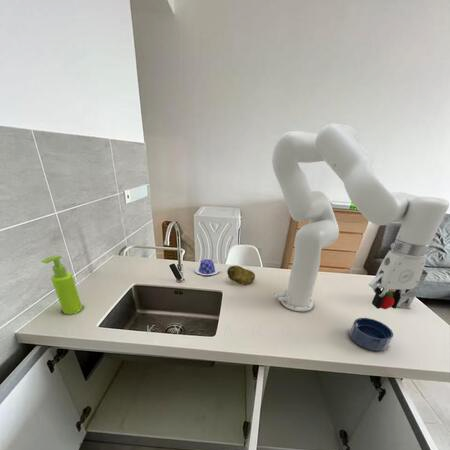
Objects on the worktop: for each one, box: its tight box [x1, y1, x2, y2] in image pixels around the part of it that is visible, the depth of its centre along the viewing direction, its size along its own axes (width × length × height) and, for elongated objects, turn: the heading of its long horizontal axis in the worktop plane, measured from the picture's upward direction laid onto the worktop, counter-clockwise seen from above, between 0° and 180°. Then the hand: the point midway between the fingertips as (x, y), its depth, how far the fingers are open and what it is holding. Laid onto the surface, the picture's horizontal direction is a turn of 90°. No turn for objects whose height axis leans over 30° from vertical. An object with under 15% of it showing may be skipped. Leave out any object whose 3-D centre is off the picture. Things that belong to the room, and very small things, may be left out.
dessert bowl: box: [349, 317, 394, 352], centre depth 79 cm, size 11×11×5 cm
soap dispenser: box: [41, 254, 83, 315], centre depth 81 cm, size 6×7×20 cm
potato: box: [226, 265, 256, 285], centre depth 108 cm, size 8×13×8 cm, turn 89°
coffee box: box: [387, 268, 429, 309], centre depth 98 cm, size 9×6×16 cm
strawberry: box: [380, 291, 395, 310], centre depth 72 cm, size 4×4×5 cm
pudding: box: [194, 258, 220, 276], centre depth 118 cm, size 12×12×5 cm
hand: (383, 305), depth 73 cm, fingers closed on strawberry, 4 cm apart
